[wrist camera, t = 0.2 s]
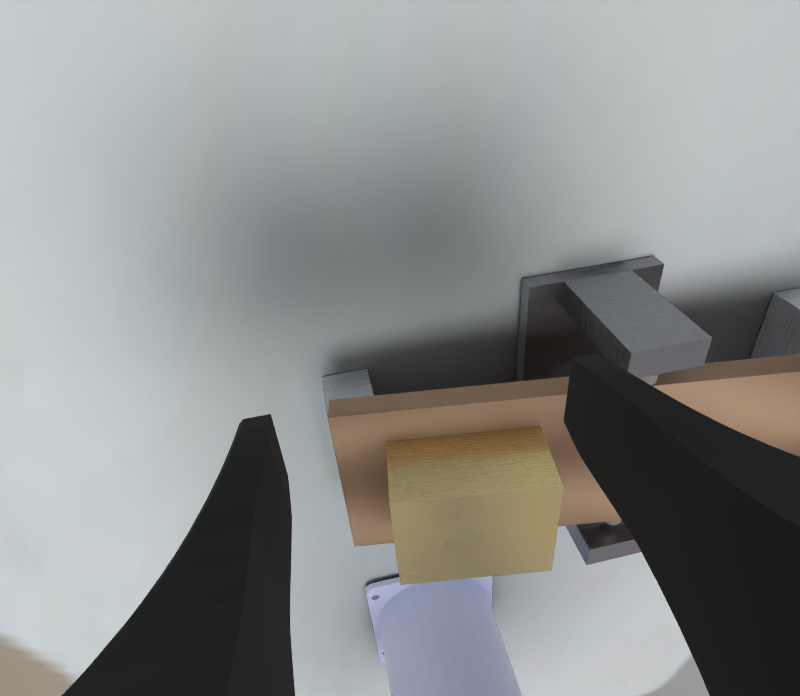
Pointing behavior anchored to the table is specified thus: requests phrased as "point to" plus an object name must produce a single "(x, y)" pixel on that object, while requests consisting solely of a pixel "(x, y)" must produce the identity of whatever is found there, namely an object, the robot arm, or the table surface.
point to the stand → (609, 346)
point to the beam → (546, 428)
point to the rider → (473, 504)
